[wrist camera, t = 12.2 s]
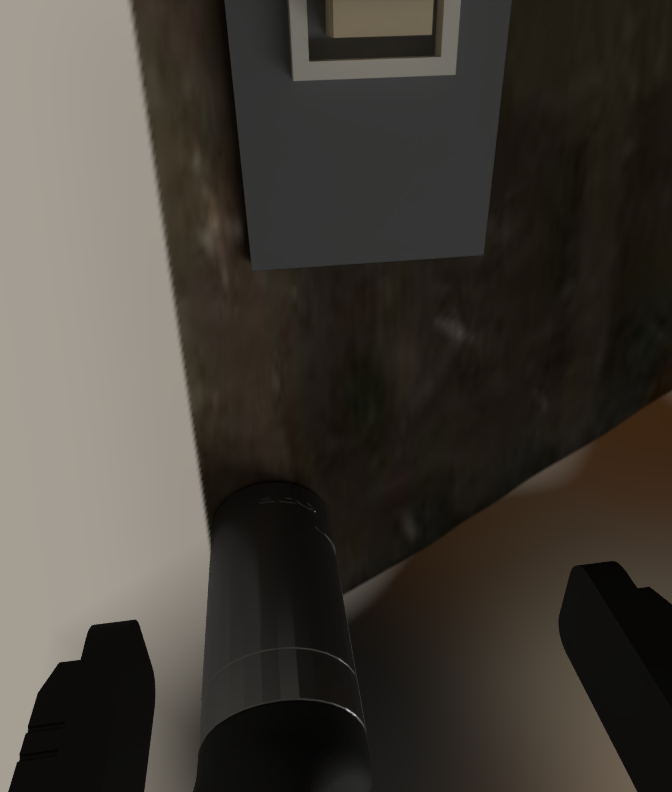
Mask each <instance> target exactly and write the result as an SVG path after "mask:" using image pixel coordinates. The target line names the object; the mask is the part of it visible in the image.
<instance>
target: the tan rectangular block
mask: <svg viewBox="0 0 672 792" xmlns="http://www.w3.org/2000/svg"><path fill="white" fill-rule="evenodd" d="M433 3H434V0H325V14H326V36H329V37H333V38H345V37H376V36H408V35H432V22H433Z"/></svg>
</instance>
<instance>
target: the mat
mask: <svg viewBox="0 0 672 792" xmlns="http://www.w3.org/2000/svg"><path fill="white" fill-rule="evenodd" d="M224 1H225V11H226V21H227V31H228V40H229V50H230V60H231V70H232V79H233V89H234V99H235V109H236V118H237V128H238V138H239V148H240V157H241V167H242V177H243V187H244V197H245V206H246V216H247V226H248V236H249V245H250V255H251V265H252V271H257V270H271V269H286V268H301V267H315V266H330V265H345V264H359V263H374V262H388V261H403V260H418V259H432V258H447V257H462V256H476V255H484V246H485V237H486V228H487V219H488V210H489V201H490V192H491V183H492V174H493V165H494V156H495V147H496V138H497V129H498V120H499V111H500V102H501V93H502V84H503V75H504V66H505V57H506V48H507V39H508V30H509V21H510V12H511V2H512V0H461V7H460V20H459V34H458V48H457V61H456V75H438V76H412V77H387V78H361V79H335V80H310V81H293V80H292V74H291V56H290V38H289V20H288V2H287V0H224ZM437 2H438V0H434V3H433V22H432V35H408V36H376V37H345V38H333V37H329V36H326V14H325V0H307V25H308V49H309V60H325V59H353V58H381V57H409V56H435V38H436V20H437Z"/></svg>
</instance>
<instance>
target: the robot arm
mask: <svg viewBox="0 0 672 792" xmlns="http://www.w3.org/2000/svg"><path fill="white" fill-rule="evenodd" d="M559 632H560V637H561V641H562V644H563V646H564V649H565V651H566V654H567V655H568V657H569V659H570V661H571V663H572V665H573V667H574V669H575V671H576V673H577V675H578V677H579V679H580V681H581V683H582V685H583V687H584V689H585V690H586V692H587V694H588V696H589V698H590V700H591V702H592V704H593V706H594V708H595V710H596V712H597V714H598V716H599V718H600V720H601V722H602V724H603V726H604V728H605V730H606V731H607V733H608V735H609V737H610V739H611V741H612V743H613V745H614V747H615V749H616V751H617V753H618V755H619V757H620V759H621V761H622V763H623V765H624V767H625V768H626V770H627V772H628V774H629V776H630V778H631V780H632V782H633V784H634V786H635V788H636V790H637V792H672V604H671V603H669V602H668V601H667V600H665V599H664V598H663V597H662V596H660V595H659V594H658V593H657V592H655V591H654V590H653V589H651V588H650V587H645V588H637V587H636V585H635V584H634V583H633V581H632V580H631V578H630V577H629V575H628V574H627V572H626V571H625V570H624V569H623V567H622V566H621V565H620V564H618V563H617V562H615V561H609V562H601V563H594V564H586V565H578V566H574V567H573V568H572V570H571V573H570V576H569V580H568V584H567V588H566V592H565V595H564V599H563V603H562V607H561V610H560V614H559ZM201 701H202V703H201V704H202V705H201V719H200V737H199V752H198V767H197V777H196V783H195V787H194V791H193V792H370V790H371V785H372V765H371V758H370V752H369V746H368V740H367V734H366V728H365V722H364V716H363V710H362V705H361V698H360V693H359V687H358V682H357V676H356V670H355V665H354V659H353V653H352V647H351V641H350V635H349V630H348V623H347V618H346V613H345V606H344V600H343V594H342V588H341V582H340V576H339V571H338V565H337V559H336V552H335V546H334V541H333V535H332V529H331V523H330V518H329V513H328V511H327V508H326V506H325V505H324V503H323V502H322V501H321V500H320V498H319V497H317V496H316V495H315V494H313V493H312V492H311V491H309V490H307V489H305V488H303V487H301V486H297V485H293V484H290V483H281V482H269V483H260V484H256V485H252V486H249V487H246V488H244V489H242V490H239V491H238V492H236V493H235V494H233V495H232V496H230V497H229V498H227V499H226V500H225V501H224V503H223V504H222V505H221V506H220V507H219V509H218V510H217V512H216V514H215V516H214V520H213V523H212V539H211V555H210V567H209V585H208V600H207V617H206V633H205V650H204V665H203V682H202V699H201ZM154 708H155V679H154V672H153V668H152V665H151V661H150V659H149V655H148V652H147V648H146V645H145V642H144V639H143V635H142V632H141V629H140V626H139V623H138V622H137V620H129V621H121V622H113V623H105V624H97V625H92V626H91V628H90V629H89V631H88V633H87V637H86V641H85V645H84V649H83V653H82V657H81V660H76V661H68V662H61V663H59V664H58V665H57V667H56V668H55V669H54V671H53V672H52V674H51V675H50V677H49V678H48V679H47V681H46V682H45V684H44V685H43V687H42V688H41V689H40V691H39V692H38V695H37V698H36V701H35V704H34V708H33V712H32V714H31V718H30V721H29V724H28V733H26V735H25V738H24V741H23V745H22V748H21V751H20V760H19V762H17V765H16V768H15V771H14V775H13V778H12V781H11V785H10V788H9V791H8V792H144V789H145V781H146V773H147V765H148V756H149V748H150V740H151V733H152V724H153V716H154Z"/></svg>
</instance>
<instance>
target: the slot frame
mask: <svg viewBox="0 0 672 792" xmlns="http://www.w3.org/2000/svg"><path fill="white" fill-rule="evenodd" d="M287 2H288V20H289V38H290V56H291V74H292V80H293V81H310V80H335V79H361V78H387V77H412V76H438V75H456V61H457V48H458V34H459V20H460V7H461V0H438V2H437V20H436V38H435V56H409V57H381V58H353V59H325V60H309V49H308V25H307V0H287Z"/></svg>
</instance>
